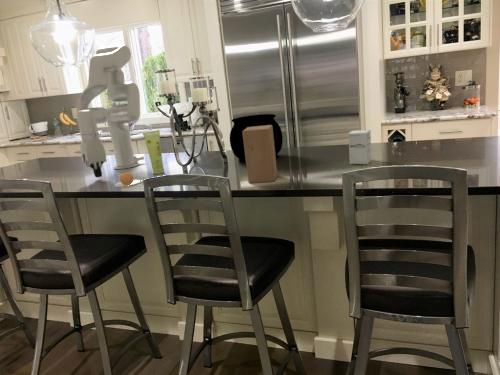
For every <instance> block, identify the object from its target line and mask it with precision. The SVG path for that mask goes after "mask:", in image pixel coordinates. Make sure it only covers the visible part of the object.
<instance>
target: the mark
mask: <svg viewBox="0 0 500 375" xmlns="http://www.w3.org/2000/svg"><path fill="white" fill-rule="evenodd" d="M139 179H140V183H139V184H142V183H141V180H143V179H142V178H139ZM114 186H115V187H116V188H124V187H123V186H127V187H129V186H128V185H124V184H122V183H121V181H119V182H116V183H115V184H114Z"/></svg>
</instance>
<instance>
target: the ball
mask: <svg viewBox="0 0 500 375" xmlns="http://www.w3.org/2000/svg"><path fill="white" fill-rule="evenodd" d="M133 179H134V175H133V174H132V173H130V172H129V171H127V172H123V173H121V175H120V177H119V182H121V183H122V184H124V185H130V184H131V183H132V182H133Z"/></svg>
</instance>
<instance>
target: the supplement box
mask: <svg viewBox="0 0 500 375" xmlns="http://www.w3.org/2000/svg"><path fill="white" fill-rule="evenodd" d="M371 140H372V139H371V130H370V129H369V130H368V129H363V130H362V129H361V130H357V129H356V130H352V131H350V132H348V151H349V152H348V153H349V154H348V155H349V164H350V165H368V164H369V163H370V162H371V161H372V142H371Z"/></svg>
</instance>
